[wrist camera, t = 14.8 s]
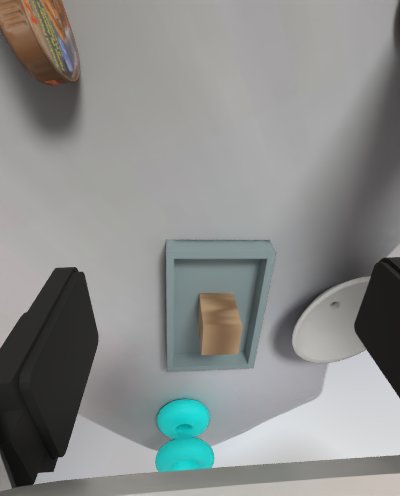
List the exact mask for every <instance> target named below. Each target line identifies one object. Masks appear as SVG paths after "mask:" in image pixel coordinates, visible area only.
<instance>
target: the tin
mask: <svg viewBox="0 0 400 496" xmlns="http://www.w3.org/2000/svg"><path fill="white" fill-rule="evenodd" d="M0 28H1V30H2V33H3V35H4V36H5V38H6V40H7V42H8V44H9V46H10V47H11V49H12V51H13V52H14V54H15V55H16V57H17V58H18V60H19V61H20V62H21V64H22V65H23V66H24V68H25V69H26V70H27V71H28V72H29V73H30V74H31V75H32V76H33V77H34V78H35V79H36V80H38V81H39V82H41V83H44V84H47V85H58V84H61V83H65V82H69V81H70V82H75V81H77V80H78V78H79V74H80V61H79V55H78V50H77V46H76V43H75V39H74V36H73V33H72V30H71V27H70V24H69V21H68V18H67V15H66V12H65V10H64V7H63V4H62V1H61V0H0Z"/></svg>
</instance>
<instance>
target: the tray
mask: <svg viewBox="0 0 400 496" xmlns="http://www.w3.org/2000/svg"><path fill="white" fill-rule="evenodd" d="M275 257H276V250H275V249H274V247H273V245H272V244H271V242H270V240H166V301H167V372H170V371H197V370H224V369H250V368H254V363H255V358H256V353H257V348H258V343H259V337H260V332H261V327H262V322H263V317H264V312H265V307H266V302H267V297H268V292H269V287H270V282H271V277H272V272H273V267H274V262H275ZM199 293H233V295H234V298H235V302H236V305H237V309H238V312H239V316H240V319H241V323H242V326H243V328H242V334H241V340H240V346H239V352H238V354H230V355H201V347H200V338H199V328H198V304H199Z"/></svg>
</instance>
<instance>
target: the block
mask: <svg viewBox="0 0 400 496" xmlns="http://www.w3.org/2000/svg"><path fill="white" fill-rule="evenodd" d="M198 328H199V338H200V347H201V355H230V354H238V352H239V346H240V340H241V334H242V328H243V326H242V323H241V319H240V316H239V312H238V309H237V305H236V302H235V298H234V295H233V293H199V304H198Z"/></svg>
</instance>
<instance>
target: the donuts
mask: <svg viewBox="0 0 400 496" xmlns="http://www.w3.org/2000/svg"><path fill="white" fill-rule="evenodd" d="M209 420H210V415H209V412H208V410H207V408H206V407H205V406H204V405H203V404H202V403H200V402H198V401H195V400H191V399H180V400H175V401H172V402H170V403H168V404H167V405H165V406H164V407H163V408H162V409H161V411H160V412H159V414H158V418H157V423H158V427H159V429H160V431H161V432H162V433H163V434H164V435H166V436H167V437H169V438H172V439H173V440H171V441H169V442H167V443H166V444H164V445H163V446H162V447H161V448H160V450H159V451H158V453H157V456H156V461H155V463H156V468H157V470H158V472H167V471H181V470H194V469H208V468H212V465H213V463H214V453H213V451H212V449H211V447H210V446H209V445H208V444H207V443H206V442H205V441H203V440H201V439H198V438H194V437H196V436H198V435H200V434H201V433H202V432H204V431H205V429H206V428H207V426H208V424H209Z"/></svg>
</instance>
